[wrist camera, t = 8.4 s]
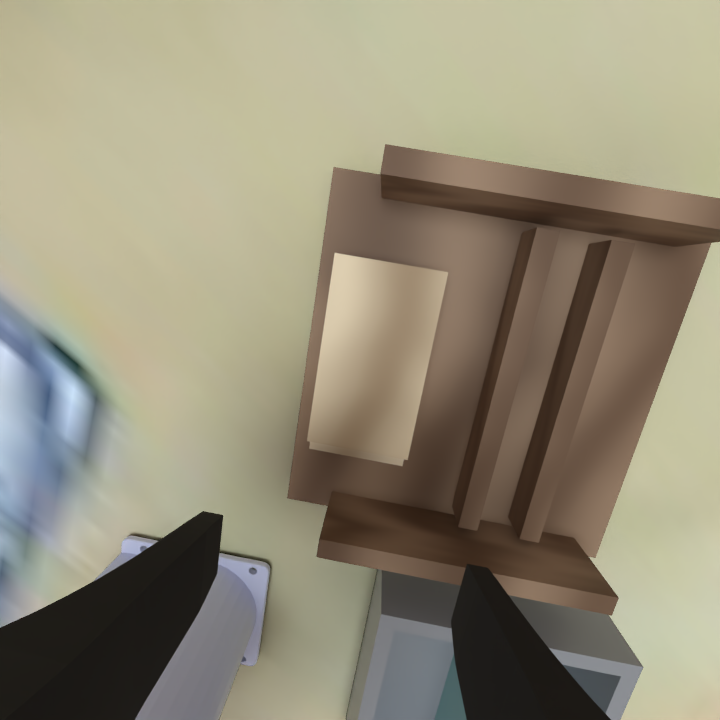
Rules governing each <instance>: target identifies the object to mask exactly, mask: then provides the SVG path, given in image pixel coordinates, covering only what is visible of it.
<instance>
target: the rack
mask: <svg viewBox="0 0 720 720" xmlns="http://www.w3.org/2000/svg"><path fill="white" fill-rule="evenodd" d="M712 242H720V198H713V197H707V196H701V195H695V194H689V193H682V192H676V191H670V190H664V189H658V188H652V187H645V186H639V185H633V184H627V183H621V182H615V181H608V180H602V179H596V178H590V177H584V176H578V175H571V174H565V173H559V172H553V171H547V170H540V169H534V168H528V167H522V166H516V165H510V164H503V163H497V162H491V161H485V160H479V159H473V158H466V157H460V156H454V155H448V154H442V153H436V152H429V151H423V150H417V149H411V148H405V147H399V146H392V145H386V144H385V150H384V156H383V162H382V168H381V175H378V174H372V173H366V172H360V171H354V170H348V169H342V168H336V167H334V169H333V176H332V183H331V190H330V197H329V204H328V211H327V219H326V226H325V233H324V240H323V247H322V254H321V261H320V269H319V276H318V283H317V290H316V297H315V304H314V311H313V319H312V326H311V333H310V340H309V347H308V354H307V361H306V369H305V376H304V383H303V390H302V397H301V404H300V411H299V419H298V426H297V433H296V440H295V447H294V454H293V461H292V469H291V476H290V483H289V490H288V497H287V498H289V499H295V500H300V501H305V502H310V503H315V504H320V505H326V506H328V508H327V512H326V516H325V519H324V523H323V527H322V531H321V535H320V539H319V545H318V551H317V557H319V558H324V559H329V560H334V561H339V562H344V563H349V564H354V565H359V566H364V567H369V568H374V569H379V570H384V571H390V572H395V573H400V574H405V575H410V576H415V577H420V578H425V579H430V580H435V581H440V582H445V583H450V584H455V585H460V586H461V583H462V579H463V576H464V572H465V569H466V565H467V564H471V565H477V566H482V567H487V568H489V570H490V571H491V572H492V573H493V575H494V576H495V577H496V579H497V580H498V582H499V583H500V584H501V586H502V587H503V588H504V590H505V591H506V592H507V594H508V595H511V596H516V597H521V598H526V599H531V600H536V601H541V602H546V603H551V604H556V605H561V606H566V607H571V608H576V609H581V610H586V611H591V612H596V613H601V614H606V615H611V616H612V614H613V611H614V609H615V606H616V603H617V601H618V596H617V595H616V594H615V592H614V591H613V590H612V588H611V587H610V586H609V584H608V583H607V581H606V580H605V579H604V577H603V576H602V575H601V573H600V572H599V571H598V569H597V568H596V567H595V565H594V564H593V563H592V561H591V560H590V558H589V557H594V558H595V557H596V554H597V552H598V549H599V546H600V544H601V541H602V538H603V535H604V533H605V530H606V527H607V525H608V522H609V519H610V516H611V514H612V511H613V508H614V506H615V503H616V500H617V497H618V495H619V492H620V489H621V487H622V484H623V481H624V478H625V476H626V473H627V470H628V468H629V465H630V462H631V459H632V457H633V454H634V451H635V449H636V446H637V443H638V440H639V438H640V435H641V432H642V430H643V427H644V424H645V421H646V419H647V416H648V413H649V411H650V408H651V405H652V402H653V400H654V397H655V394H656V392H657V389H658V386H659V383H660V381H661V378H662V375H663V373H664V370H665V367H666V364H667V362H668V359H669V356H670V354H671V351H672V348H673V345H674V343H675V340H676V337H677V335H678V332H679V329H680V326H681V324H682V321H683V318H684V316H685V313H686V310H687V307H688V305H689V302H690V299H691V297H692V294H693V291H694V288H695V286H696V283H697V280H698V278H699V275H700V272H701V269H702V267H703V264H704V261H705V259H706V256H707V253H708V250H709V248H710V245H711V243H712ZM335 253H339V254H345V255H351V256H357V257H362V258H368V259H374V260H380V261H386V262H391V263H397V264H403V265H409V266H415V267H420V268H426V269H432V270H438V271H444V272H448V276H447V281H446V286H445V290H444V295H443V299H442V304H441V309H440V313H439V318H438V322H437V327H436V332H435V336H434V341H433V345H432V350H431V355H430V359H429V364H428V368H427V373H426V378H425V382H424V387H423V391H422V396H421V401H420V405H419V410H418V414H417V419H416V424H415V428H414V433H413V437H412V442H411V447H410V451H409V456H408V460H405V459H404V461H403V466H399V465H393V464H388V463H383V462H378V461H372V460H367V459H362V458H356V457H351V456H346V455H341V454H335V453H330V452H325V451H319V450H314V449H309V446H310V442H309V441H307V437H308V430H309V423H310V417H311V410H312V403H313V396H314V390H315V383H316V376H317V369H318V362H319V356H320V349H321V342H322V335H323V329H324V322H325V315H326V308H327V302H328V295H329V288H330V281H331V274H332V268H333V261H334V254H335ZM588 556H589V557H588Z"/></svg>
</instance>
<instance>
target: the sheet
mask: <svg viewBox="0 0 720 720" xmlns="http://www.w3.org/2000/svg"><path fill="white" fill-rule="evenodd" d="M434 720H467V719H466V714H465V709H464V705H463V700H462V695H461V690H460V685H459V680H458V675H457V670H456V665H455V657H454V655H453V658H452V661H451V665H450V668H449V672H448V675H447V678H446V682H445V685H444V689H443V692H442V696H441V699H440V702H439V706H438V709H437V713H436V716H435V719H434Z"/></svg>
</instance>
